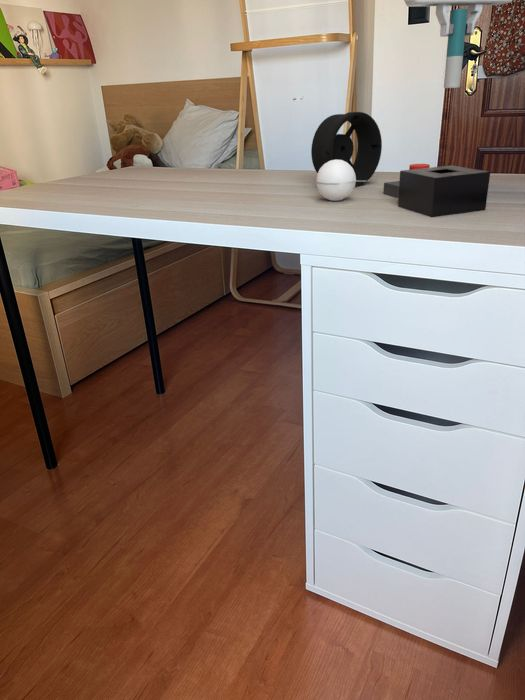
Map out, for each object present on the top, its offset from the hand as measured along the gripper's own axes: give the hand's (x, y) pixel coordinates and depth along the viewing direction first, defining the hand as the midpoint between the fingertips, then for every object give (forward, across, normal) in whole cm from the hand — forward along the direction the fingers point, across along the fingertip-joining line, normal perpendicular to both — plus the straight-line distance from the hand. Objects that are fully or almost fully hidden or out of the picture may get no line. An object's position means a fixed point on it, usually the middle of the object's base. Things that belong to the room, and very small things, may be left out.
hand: (456, 36), depth 92 cm
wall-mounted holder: (+26, -14, +17) cm, 34 cm away
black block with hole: (+26, -11, -15) cm, 32 cm away
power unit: (+26, -7, -2) cm, 27 cm away
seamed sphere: (+26, -22, 0) cm, 34 cm away
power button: (+22, -7, -2) cm, 23 cm away
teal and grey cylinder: (+8, 0, 0) cm, 8 cm away
